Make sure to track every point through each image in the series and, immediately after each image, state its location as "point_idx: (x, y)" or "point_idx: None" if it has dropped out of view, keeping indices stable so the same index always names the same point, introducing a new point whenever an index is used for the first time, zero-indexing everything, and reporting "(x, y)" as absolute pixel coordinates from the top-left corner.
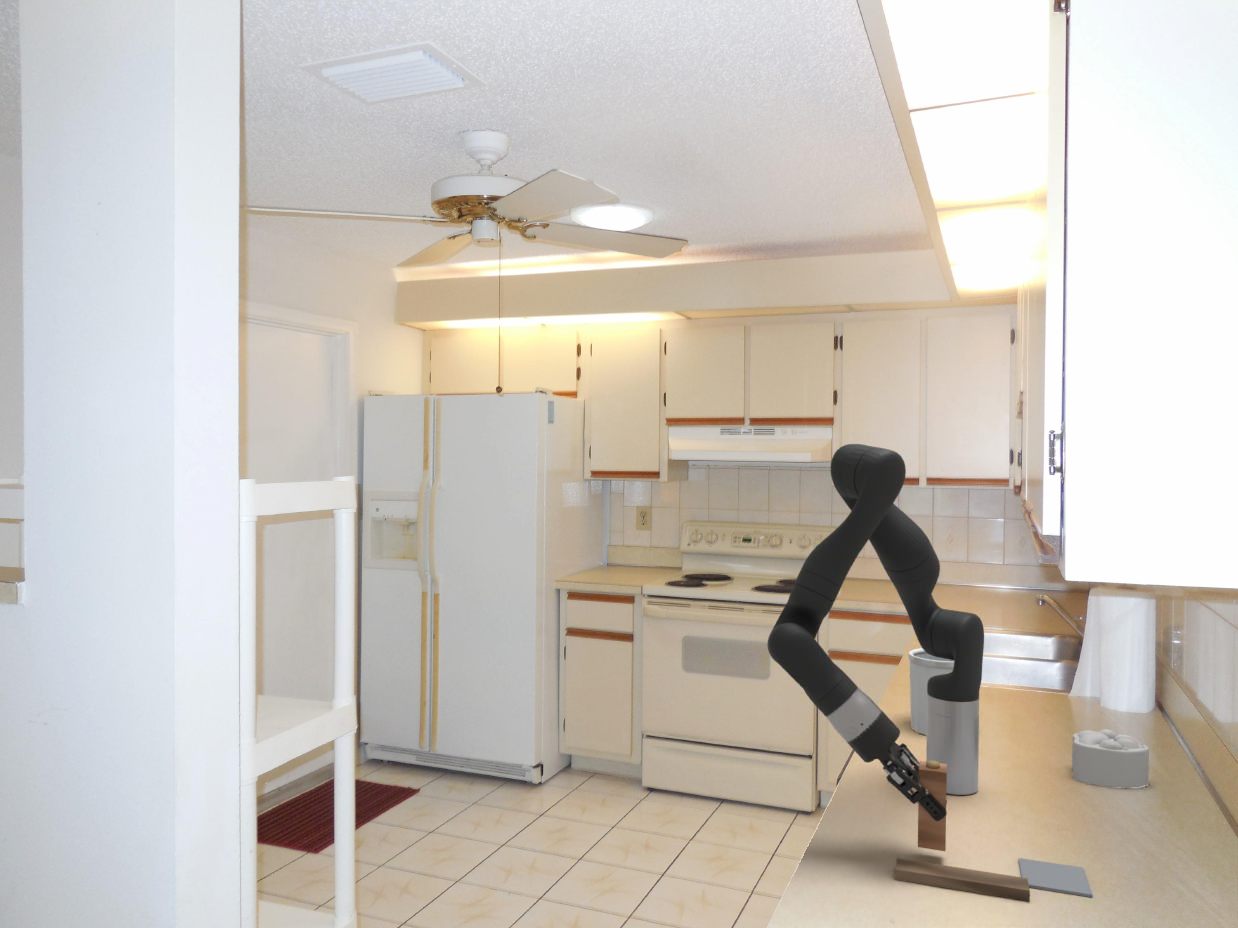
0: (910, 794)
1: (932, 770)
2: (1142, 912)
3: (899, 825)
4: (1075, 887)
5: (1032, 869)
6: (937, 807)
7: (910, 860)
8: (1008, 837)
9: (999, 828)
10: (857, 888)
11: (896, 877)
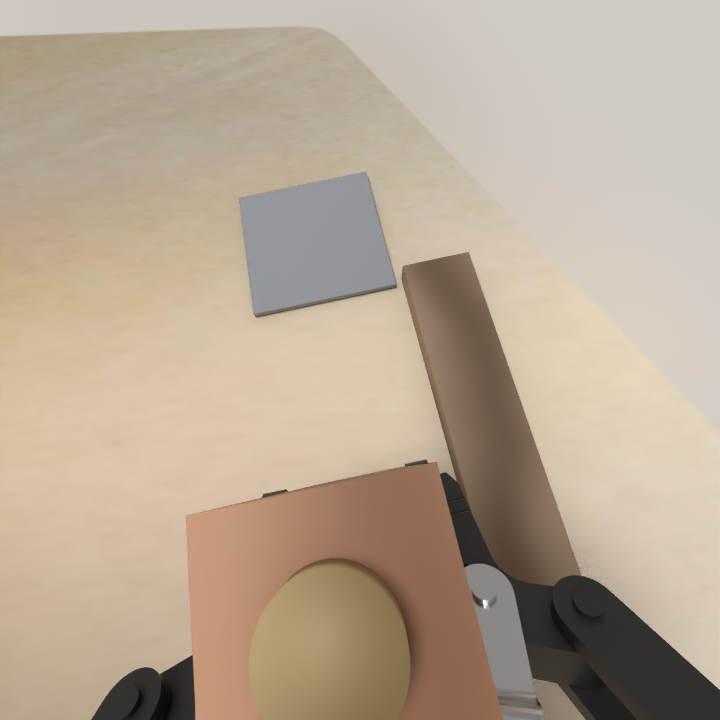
0: (589, 697)
1: (465, 611)
2: (379, 111)
3: None
4: (350, 199)
5: (306, 278)
6: (462, 501)
7: None
8: (121, 359)
9: (67, 388)
10: (716, 682)
11: None
